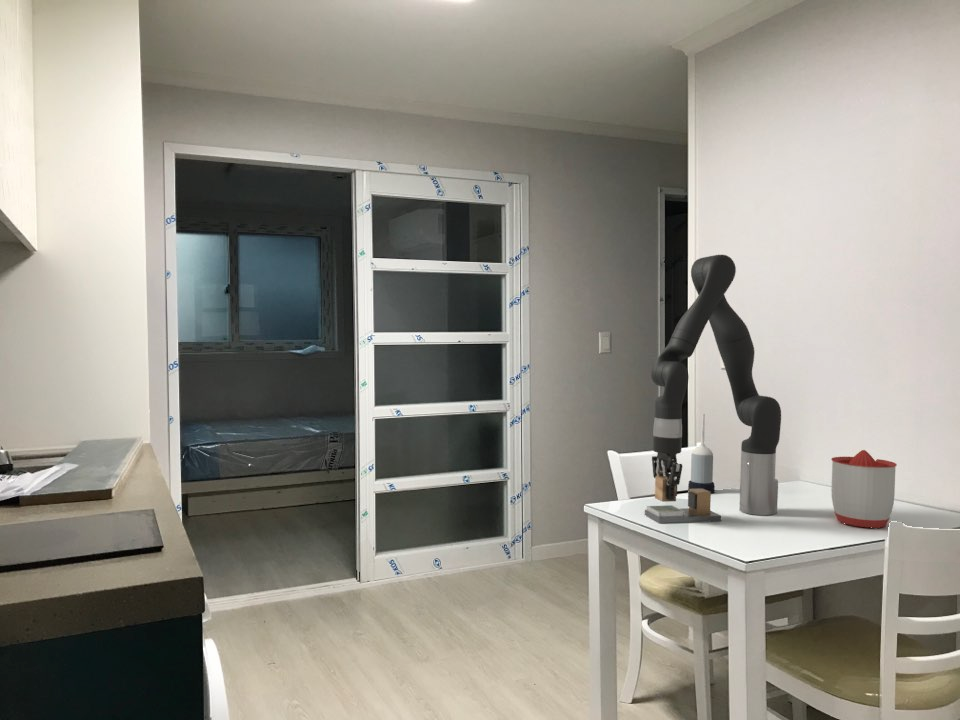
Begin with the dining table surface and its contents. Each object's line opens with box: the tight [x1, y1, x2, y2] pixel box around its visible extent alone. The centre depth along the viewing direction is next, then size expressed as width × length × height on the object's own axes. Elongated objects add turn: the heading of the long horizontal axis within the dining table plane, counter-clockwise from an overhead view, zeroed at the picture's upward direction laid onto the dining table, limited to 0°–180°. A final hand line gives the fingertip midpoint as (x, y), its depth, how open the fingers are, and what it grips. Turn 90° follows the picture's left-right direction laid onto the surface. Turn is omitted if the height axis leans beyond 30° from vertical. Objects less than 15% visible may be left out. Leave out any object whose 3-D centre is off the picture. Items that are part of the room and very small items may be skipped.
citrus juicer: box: [831, 449, 897, 529], centre depth 196 cm, size 16×17×20 cm
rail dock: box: [644, 489, 722, 524], centre depth 197 cm, size 18×9×8 cm, turn 101°
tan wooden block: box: [654, 476, 678, 503], centre depth 196 cm, size 4×4×6 cm
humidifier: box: [687, 413, 715, 495], centre depth 233 cm, size 8×8×25 cm
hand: (665, 497), depth 196 cm, fingers closed on tan wooden block, 4 cm apart
